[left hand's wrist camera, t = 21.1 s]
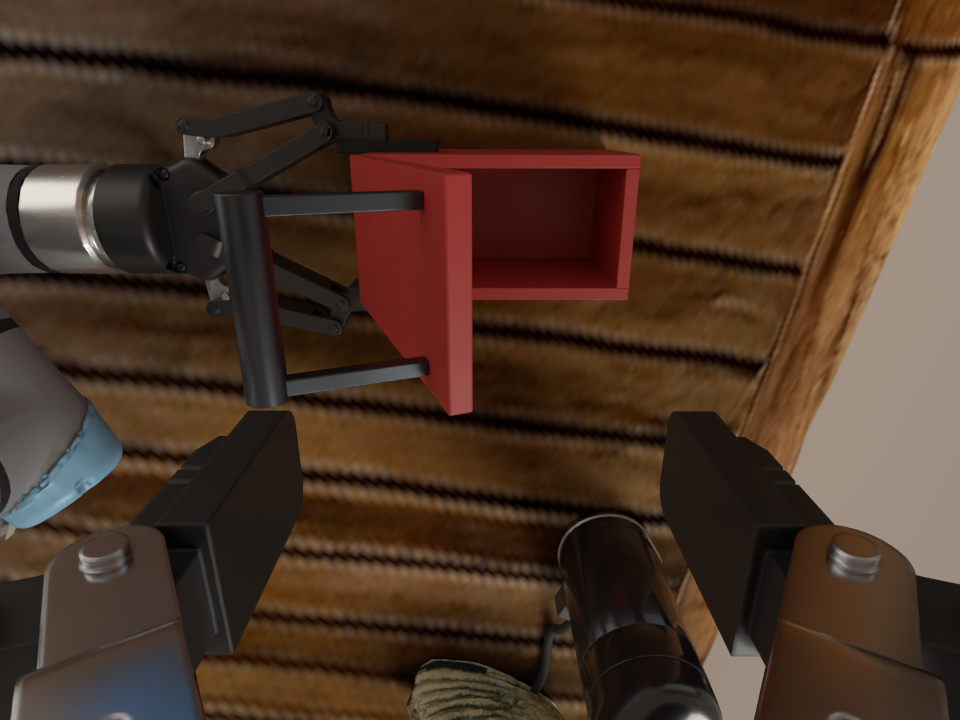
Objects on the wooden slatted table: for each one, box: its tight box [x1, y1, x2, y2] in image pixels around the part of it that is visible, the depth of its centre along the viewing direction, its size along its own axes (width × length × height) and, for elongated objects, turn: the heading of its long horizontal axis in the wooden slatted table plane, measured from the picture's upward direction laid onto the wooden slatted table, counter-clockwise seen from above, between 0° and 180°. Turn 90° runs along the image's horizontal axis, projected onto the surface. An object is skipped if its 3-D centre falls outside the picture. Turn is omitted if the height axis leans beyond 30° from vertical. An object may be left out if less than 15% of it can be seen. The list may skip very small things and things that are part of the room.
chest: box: [364, 149, 641, 300], centre depth 43 cm, size 17×9×11 cm, turn 90°
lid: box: [214, 154, 473, 416], centre depth 28 cm, size 18×9×8 cm
